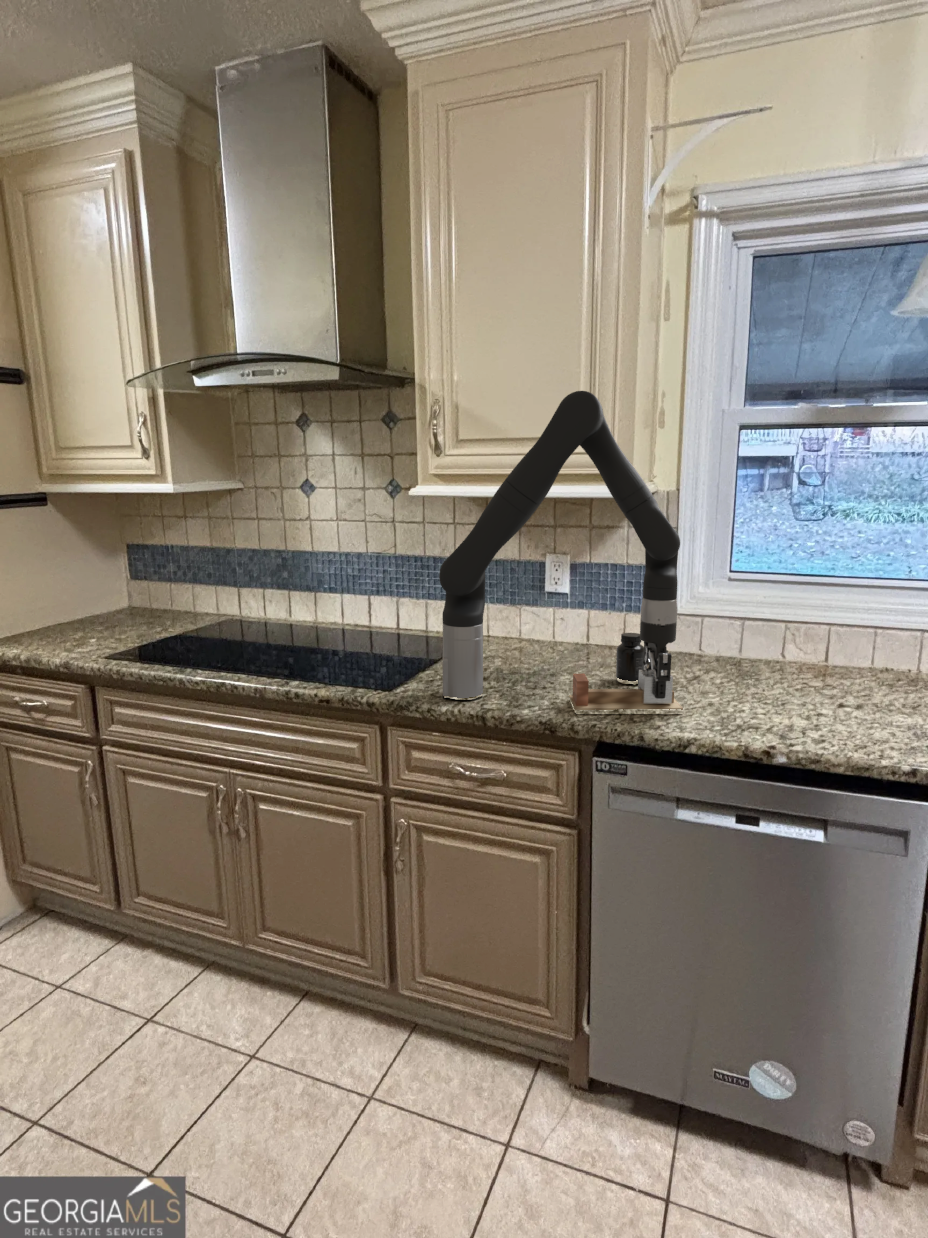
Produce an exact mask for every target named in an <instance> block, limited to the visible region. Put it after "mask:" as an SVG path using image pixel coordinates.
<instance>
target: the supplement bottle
mask: <svg viewBox="0 0 928 1238" xmlns="http://www.w3.org/2000/svg"><path fill="white" fill-rule="evenodd" d="M620 636H621V637H620V642H621V643H620V644H619V645H618V646H617V647H616V658H615V659H616V660H615V661H616V663H615V665H616V667H615V669H616V670H615V678H616V677H617V678H619V679H622V680H628V681H636V680H639V670H645V665H643V656H644V645H642V644H641V643H642V640H641V639H640V633H637V632H624V633H623V632H622V633H621V634H620Z"/></svg>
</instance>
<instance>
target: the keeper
mask: <svg viewBox="0 0 928 1238" xmlns="http://www.w3.org/2000/svg"><path fill="white" fill-rule="evenodd" d="M661 675H664V674H663V672H662V671H661ZM673 682H674V676H673V675H672V674H671V673H670V681H667V682H666V694H665V698H663V699H657V698H655V696H654V690H655V675H654V672H653V671H652V670H639V680H638V685H637V689H642V690H643V694H642V702H643V703H644V704H672V690H673V687H674V685H673Z"/></svg>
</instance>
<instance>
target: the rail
mask: <svg viewBox="0 0 928 1238" xmlns="http://www.w3.org/2000/svg"><path fill="white" fill-rule="evenodd" d="M589 682H590V681H589V679H588V677H587V674H585V673H573V674H572V694H570V695H569V694H568V695H569V696H568V697H570V700H571V702H572V704H573V706H574V709H575V710H595V709H596V710H615V709H616V710H617V709H618V710H619V709H623V710H624V709H669V710H670V709H676V710H677V709H681V710H683V711H684V707H683V706H682V705H681V704H680V703H679V702H678V700H677V699H676V698H675V691H674V689H672V704H644V703H643V702H642V694H643V690H642V689H638V688H628V689H627V688H602V689H601V688H589V686H590V685H589V684H590V683H589Z"/></svg>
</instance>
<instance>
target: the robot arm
mask: <svg viewBox="0 0 928 1238" xmlns="http://www.w3.org/2000/svg"><path fill="white" fill-rule="evenodd" d="M579 447H581V448H582V450H583V451H584V452H585V453H586V454H587V456H588V457H589V459H591V462H593V465H594V466H595V468H596V469H597V472H599V475H600V476H601V478H602V480H603V482H604V484H605V486H606V487H607V490H608V491H609V493H610V495H611V497H612V498H613V500H614V502H615V503H616V504H617V506H618V507H619V509H620V511H621V512H622V514H623V515H624V517H625V518H626V519H627V521H628V522H629V523H630V525H631V526H632V528H633V530H634V531H635V534H636V535H637V538H638V539H639V540H640V543H641V544H642V546H643V548H644V549H645V552H644V553H645V554H644V556H645V557H644V562H645V563H644V564H645V567H644V568H645V569H644V576H643V584H642V601H641V602H642V603H641V607H640V624H639V627H640V628H639V634H640V639H641V642H643V647H644V656H643V665H645V670H652V671H653V672H654V675H655V690H654V696H655V698H657V699H663V698H665V694H666V682H667V681H670V674H671V671H672V653H671V652H669V650H668V649H667V645H668V644H672V643H674V642H675V641H676V639H677V624H678V621H677V620H678V603H677V602H678V601H677V599H678V575H677V569H678V560H679V559H678V556H679V551H680V547H681V539H680V535H679V533H678V531H677V530H676V529H675V528H674V527H673V526H672V524H671V523H670V521H669V520H668V518H667V517H666V515H665V514H664V513H663V511H662V510H661V509H660V507H659V504H658V502H657V499H656V498H655V496H654V494H653V493H652V492H651V490H650V488H649V487H648V486H647V484H646V482H645V481H644V479H643V477H642V476H641V475H640V474H639V472H638V471H637V469H636V468H635V466H634V465H633V464H632V463H631V462H630V460H629V459H628V458H627V456H626V455H625V453H624V452H623V451H622V449H621V448H620V446H619V444H618V443H617V441H616V439H615V437H614V436H613V434H612V431H611V430H610V427H609V424H608V423H607V420H606V418H605V416H604V408H603V406H602V404H601V402H600V400H599V399H598V397H597V396H596V395H595V394H593V393H591V392H590V391H586V390H577V391H573V392H571V393H569V394H567V395H566V396H565V397H564V398H563V399H562V400H561V402H560V403H559V404H558V406H557V408H556V410H555V411H554V413H553V416H552V417H551V419H550V420H549V422H548V424H546V427H545V429H544V430H543V432H542V433H541V435H540V436H539V438H538V439H537V441H536V442H535V444H534V445H533V446H532V447H531V448H530V449H529V451H527V452H526V454H525V455H524V456H523V457H522V458H521V459H520V460H519V462H517V464H516V465H515V467H514V468H513V469H512V470H511V472H510V473H509V474H508V475H507V477H505V479H504V481H503V482H502V483H501V485H499V487H498V489H497V490H496V491H495V493H494V495H493V496H492V498H491V499H490V500H489V502H488V504H487V505H486V507H485V509H484V510H483V511H482V513H481V514H480V516H479V518H478V520H477V521H476V523H475V524H474V527H473V528H472V530H471V531H470V532H469V534H468V535H467V536H466V537H465V538H464V540H462V542H461V543H460V544H459V545H458V546H457V547H456V548H455V549H454V550H453V552H452V553H451V554H449V556H448V557H447V558H446V559H445V560H444V561H443V563H442V564H441V566H440V569H439V574H438V577H439V578H438V579H439V583H440V586H441V588H442V589H443V590H444V592H445V599H444V601H445V602H444V607H443V611H442V697H443V696H450V697H457V698H469V697H475V696H478V695H481V694H482V693H483V694H484V613H485V607H486V570H487V569H488V567H489V565H490V563H491V562H492V561H493V560H494V558H495V556H497V554H498V553H499V551H500V550H501V549H502V548H503V547H504V546H505V545H506V544H507V543H508V542H509V541H510V540H511V539H512V538H513V537H515V535H516V534H517V533H518V532H519V531H520V530H521V529H522V527H524V525H526V523H527V522H528V521H529V520H530V519H531V517H532V516H533V515H534V513H535V512H536V511H537V510H538V508H539V507H540V506H541V504H542V503H543V501H544V500H545V498H546V496H547V495H548V494H549V492H550V490H551V488H552V487H553V485H554V483H555V481H556V480H557V477H558V476H559V474H560V471H561V470H562V468H563V466H564V464H565V463H566V462H567V460H569V458H570V457H571V455H573V453H574V452H575V451H576V450H577V449H578V448H579ZM661 671H662V672H663V674H664V675H661Z"/></svg>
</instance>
